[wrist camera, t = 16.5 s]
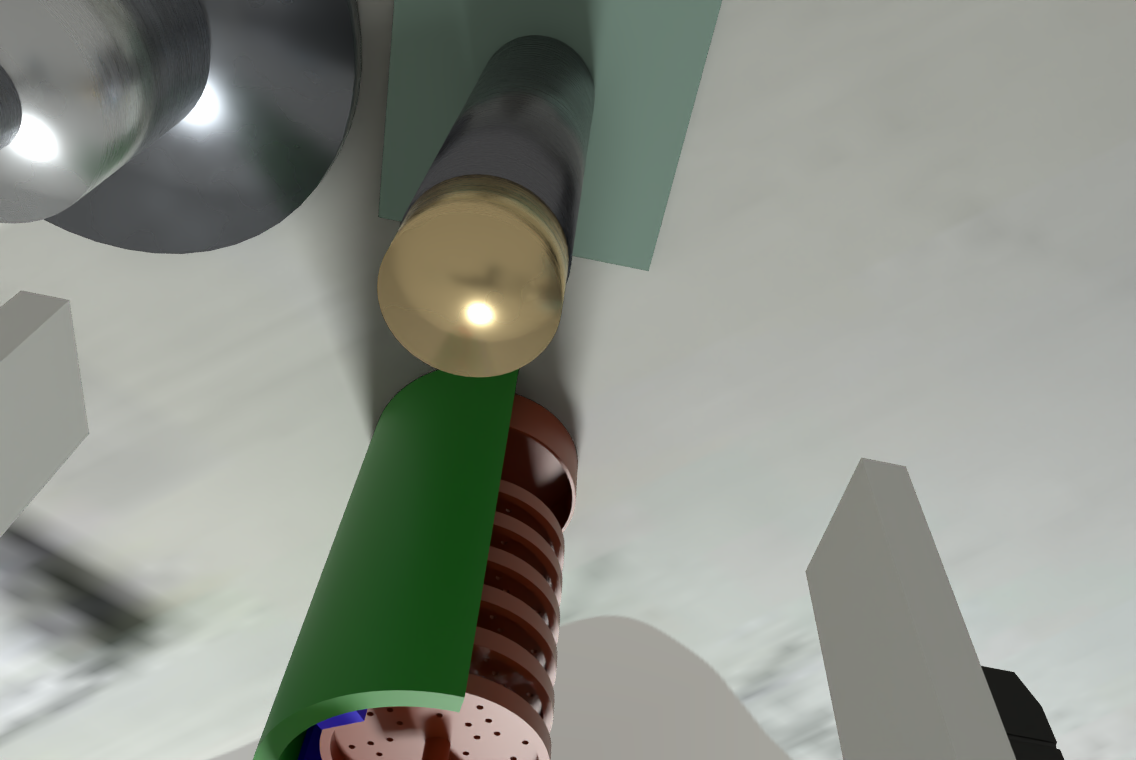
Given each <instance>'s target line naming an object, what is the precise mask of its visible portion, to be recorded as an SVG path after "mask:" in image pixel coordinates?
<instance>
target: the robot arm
mask: <svg viewBox="0 0 1136 760" xmlns="http://www.w3.org/2000/svg"><path fill="white" fill-rule="evenodd" d="M88 434H89V429H88V423H87V416H86V409H85V402H84V396H83V389H82V382H81V375H80V369H79V362H78V355H77V348H76V342H75V335H74V328H73V321H72V315H71V308H70V301H69V300H66V299H61V298H56V297H51V296H46V295H41V294H36V293H31V292H26V291H20V292H19V293H17V294H16V295H15V296H14V297H13V298H11V299H10V300H9V301H8V302H6V303H5V304H4V305H3V306H1V307H0V537H1V536H2V535H3V534H4V532H5V531H6V530H7V529H8V528H9V527H10V525H11V524H12V523H13V522H14V521H15V520H16V518H17V517H18V516H19V515H20V514H21V513H22V511H23V510H24V509H25V508H26V507H27V506H28V504H29V503H30V502H31V501H32V500H33V499H34V497H35V496H36V495H37V494H38V493H39V492H40V490H41V489H42V488H43V487H44V486H45V484H46V483H47V482H48V481H49V480H50V479H51V477H52V476H53V475H54V474H55V473H56V472H57V470H58V469H59V468H60V467H61V466H62V465H63V463H64V462H65V461H66V460H67V459H68V458H69V456H70V455H71V454H72V453H73V452H74V451H75V449H76V448H77V447H78V446H79V445H80V444H81V442H82V441H83V440H84V439H85V438H86V436H87V435H88ZM806 575H807V580H808V585H809V590H810V595H811V600H812V605H813V610H814V615H815V620H816V625H817V630H818V635H819V640H820V645H821V650H822V655H823V660H824V665H825V670H826V675H827V680H828V685H829V690H830V695H831V700H832V705H833V710H834V715H835V720H836V725H837V730H838V735H839V740H840V745H841V750H842V755H843V760H1064V758H1063V756H1062V753H1061V751H1060V749H1057V748H1056V743H1057V741H1056V739H1055V737H1054V734H1053V732H1052V730H1051V727H1050V725H1049V723H1048V720H1047V718H1046V716H1045V713H1044V711H1043V709H1042V706H1041V705H1040V704H1039V703H1038V701H1037V700H1036V699H1035V698H1034V696H1033V695H1032V694H1031V693H1030V691H1029V690H1028V689H1027V688H1026V686H1025V685H1024V684H1023V683H1022V681H1021V680H1020V679H1019V678H1018V676H1017V675H1016V674H1015V673H1014V672H1010V671H1005V670H1000V669H994V668H989V667H984V666H981V665H980V662H979V660H978V657H977V654H976V652H975V649H974V646H973V644H972V641H971V638H970V636H969V633H968V630H967V628H966V625H965V622H964V620H963V617H962V615H961V612H960V609H959V607H958V604H957V601H956V599H955V596H954V593H953V591H952V588H951V585H950V583H949V580H948V577H947V575H946V572H945V569H944V567H943V564H942V561H941V559H940V556H939V553H938V551H937V548H936V545H935V543H934V540H933V538H932V535H931V532H930V530H929V527H928V524H927V522H926V519H925V516H924V514H923V511H922V508H921V506H920V503H919V500H918V498H917V495H916V492H915V490H914V487H913V484H912V482H911V479H910V476H909V474H908V471H907V469H906V466H901V465H896V464H891V463H886V462H881V461H876V460H871V459H866V458H861V460H860V462H859V464H858V466H857V468H856V470H855V472H854V474H853V476H852V478H851V480H850V482H849V484H848V486H847V488H846V490H845V492H844V494H843V496H842V498H841V500H840V502H839V504H838V507H837V509H836V511H835V513H834V515H833V517H832V519H831V521H830V523H829V525H828V527H827V529H826V531H825V533H824V535H823V537H822V539H821V541H820V543H819V545H818V547H817V549H816V551H815V553H814V555H813V557H812V560H811V562H810V564H809V566H808V568H807V570H806Z"/></svg>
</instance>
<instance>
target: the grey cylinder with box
mask: <svg viewBox="0 0 1136 760" xmlns="http://www.w3.org/2000/svg"><path fill="white" fill-rule="evenodd" d="M209 69H210V41H209V36H208V30H207V25H206V22H205V19H204V15H203V12H202V10H201V7H200V5H199V2H198V0H0V222H1V223H26V222H33V221H38V220H42V219H46V218H48V217H51V216H54V215H56V214H58V213H60V212H62V211H63V210H65V209H67V208H69V207H70V206H71V205H73V204H74V203H75V202H77V201H78V200H79V199H80V198H82V197H83V196H84V195H86V194H87V193H88V192H90V191H91V190H92V189H93V188H95V187H96V186H97V185H99V184H100V183H101V182H103V181H104V180H105V179H106V178H108V177H109V176H110V175H112V174H113V173H114V172H116V171H117V170H118V169H120V168H121V167H122V166H123V165H125V164H126V163H127V162H129V161H130V160H131V159H133V158H134V157H135V156H136V155H138V154H139V153H140V152H142V151H143V150H144V149H146V148H147V147H148V146H149V145H151V144H152V143H153V142H155V141H156V140H157V139H159V138H160V137H161V136H162V135H164V134H165V133H166V132H168V131H169V130H170V129H172V128H173V127H174V126H175V125H177V124H178V123H179V122H181V121H182V120H183V119H184V118H185V117H186V116H188V115H189V113H190V112H191V111H192V110H193V109H194V107H195V106H196V105H197V103H198V101H199V100H200V98H201V96H202V94H203V91H204V89H205V86H206V84H207V79H208V75H209Z"/></svg>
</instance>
